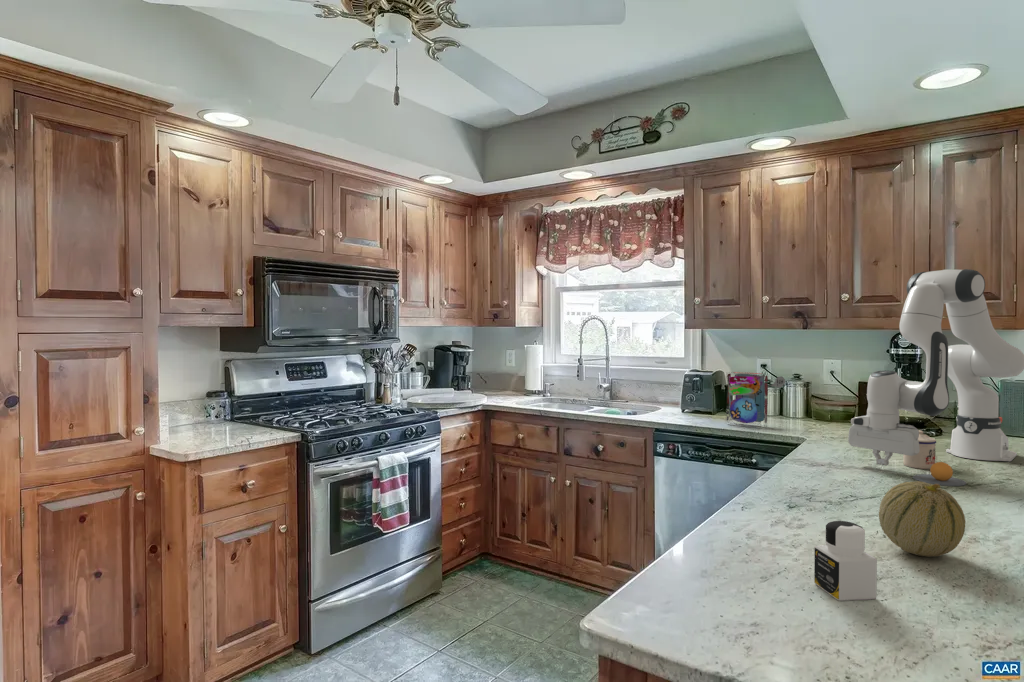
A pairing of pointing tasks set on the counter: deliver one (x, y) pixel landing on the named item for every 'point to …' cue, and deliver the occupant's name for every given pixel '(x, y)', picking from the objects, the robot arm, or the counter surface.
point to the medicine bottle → (845, 563)
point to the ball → (941, 471)
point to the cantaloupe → (922, 518)
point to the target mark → (931, 480)
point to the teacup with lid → (922, 453)
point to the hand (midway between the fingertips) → (882, 464)
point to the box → (749, 397)
